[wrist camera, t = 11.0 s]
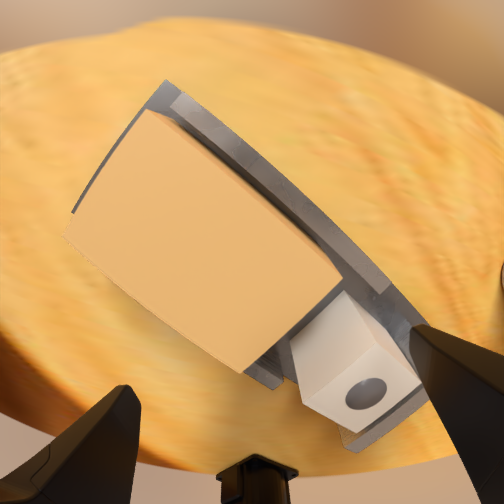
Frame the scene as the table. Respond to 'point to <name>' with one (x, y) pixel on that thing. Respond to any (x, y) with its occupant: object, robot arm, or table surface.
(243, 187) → the block
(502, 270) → the energy drink
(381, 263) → the table surface
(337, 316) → the block
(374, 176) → the table surface
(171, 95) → the press frame
